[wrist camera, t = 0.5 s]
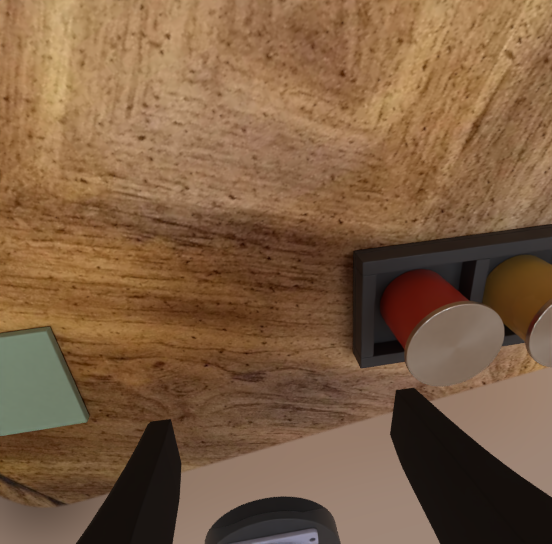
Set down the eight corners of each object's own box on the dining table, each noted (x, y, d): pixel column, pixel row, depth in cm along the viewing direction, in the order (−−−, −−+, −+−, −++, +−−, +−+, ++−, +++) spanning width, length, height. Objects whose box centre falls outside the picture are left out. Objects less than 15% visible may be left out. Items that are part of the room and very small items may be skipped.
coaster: (89, 416, 24) (87, 422, 23) (-25, 434, 23) (-30, 441, 23) (50, 325, 20) (46, 331, 20) (-84, 344, 20) (-91, 350, 20)
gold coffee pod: (542, 314, 24) (607, 360, 20) (469, 325, 24) (520, 374, 20) (562, 242, 22) (640, 278, 18) (481, 254, 21) (542, 292, 17)
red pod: (447, 328, 24) (494, 378, 19) (371, 339, 23) (403, 393, 19) (458, 257, 21) (514, 296, 17) (374, 268, 21) (410, 312, 17)
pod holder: (549, 322, 25) (569, 336, 24) (352, 352, 24) (360, 369, 23) (579, 220, 22) (604, 229, 20) (353, 250, 21) (362, 262, 19)
